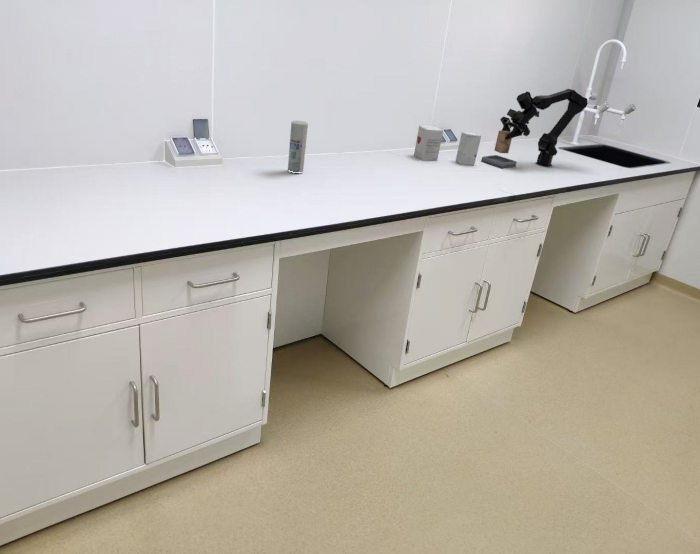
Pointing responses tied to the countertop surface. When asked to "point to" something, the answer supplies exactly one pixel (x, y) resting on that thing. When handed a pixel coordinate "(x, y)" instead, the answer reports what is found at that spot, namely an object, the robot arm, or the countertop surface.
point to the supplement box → (428, 142)
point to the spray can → (297, 146)
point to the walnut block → (502, 142)
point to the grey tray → (498, 161)
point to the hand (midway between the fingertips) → (502, 137)
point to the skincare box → (468, 148)
